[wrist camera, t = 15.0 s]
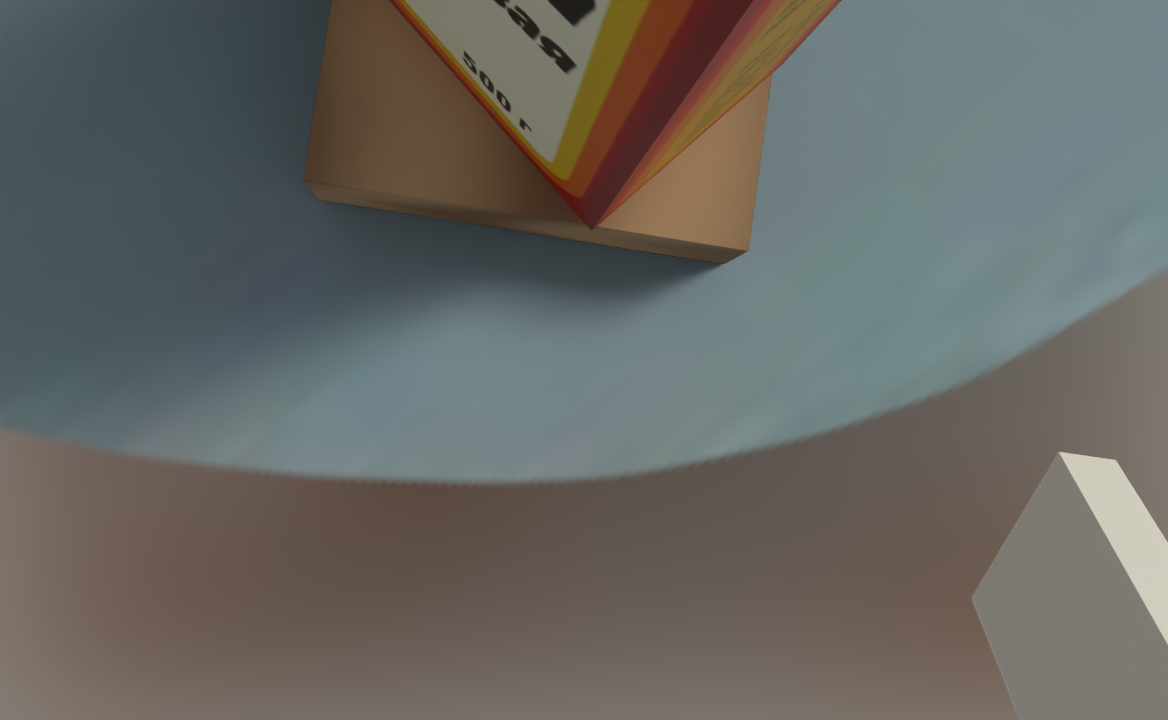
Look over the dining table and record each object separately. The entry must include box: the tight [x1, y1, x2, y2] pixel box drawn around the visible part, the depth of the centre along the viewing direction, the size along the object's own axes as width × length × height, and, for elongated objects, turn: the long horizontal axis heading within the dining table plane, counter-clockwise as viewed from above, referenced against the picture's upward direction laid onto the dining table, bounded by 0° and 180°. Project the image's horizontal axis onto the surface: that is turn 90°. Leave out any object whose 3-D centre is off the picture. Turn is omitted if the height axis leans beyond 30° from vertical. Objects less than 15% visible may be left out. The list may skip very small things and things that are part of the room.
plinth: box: [304, 0, 772, 264], centre depth 27 cm, size 11×11×2 cm
